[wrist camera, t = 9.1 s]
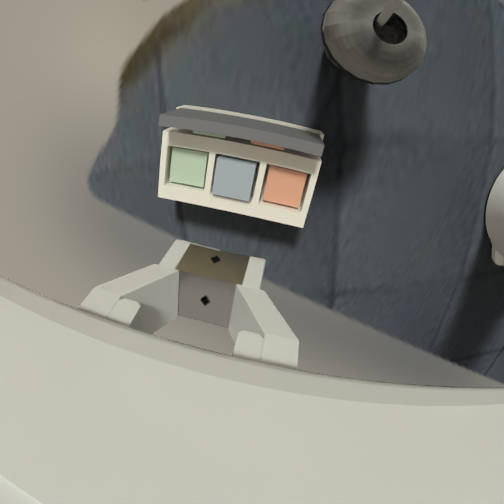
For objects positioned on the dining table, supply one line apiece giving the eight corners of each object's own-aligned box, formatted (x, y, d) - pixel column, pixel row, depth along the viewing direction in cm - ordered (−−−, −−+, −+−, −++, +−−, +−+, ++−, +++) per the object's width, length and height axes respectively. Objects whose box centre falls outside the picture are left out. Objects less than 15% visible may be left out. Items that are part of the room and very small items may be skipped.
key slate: (258, 160, 29) (255, 165, 27) (251, 194, 31) (248, 201, 29) (221, 153, 29) (217, 158, 27) (216, 186, 31) (211, 193, 29)
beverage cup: (352, 96, 28) (431, 124, 11) (296, 52, 26) (302, 10, 9) (393, 50, 24) (508, 34, 7) (338, 5, 23) (395, -76, 6)
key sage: (212, 148, 30) (207, 153, 28) (208, 180, 32) (203, 187, 30) (179, 142, 30) (172, 147, 28) (176, 174, 32) (169, 180, 30)
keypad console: (321, 131, 30) (330, 147, 24) (301, 206, 35) (303, 240, 28) (184, 104, 30) (154, 114, 24) (175, 179, 35) (148, 206, 29)
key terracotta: (306, 168, 30) (307, 174, 28) (298, 200, 32) (298, 207, 30) (271, 159, 30) (269, 165, 28) (264, 192, 32) (262, 199, 30)
